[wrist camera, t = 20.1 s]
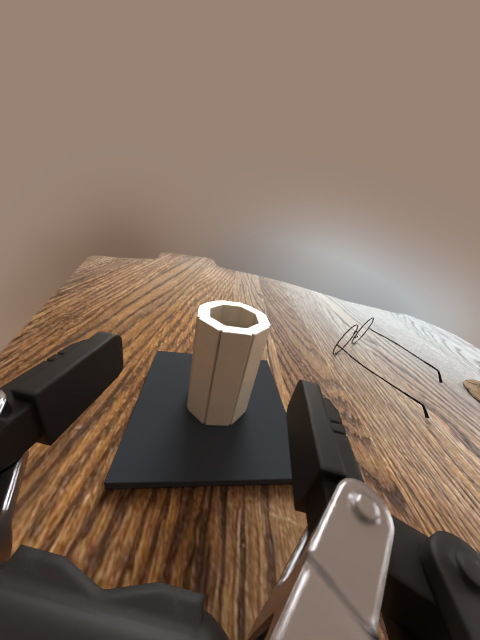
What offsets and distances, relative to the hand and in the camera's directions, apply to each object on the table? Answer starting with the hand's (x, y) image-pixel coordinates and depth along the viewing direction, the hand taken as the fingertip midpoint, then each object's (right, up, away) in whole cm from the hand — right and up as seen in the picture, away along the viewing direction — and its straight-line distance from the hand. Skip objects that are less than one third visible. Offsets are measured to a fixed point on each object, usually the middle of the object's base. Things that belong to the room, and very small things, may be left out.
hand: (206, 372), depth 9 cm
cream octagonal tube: (0, -4, +8) cm, 9 cm away
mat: (-1, -5, +8) cm, 10 cm away
